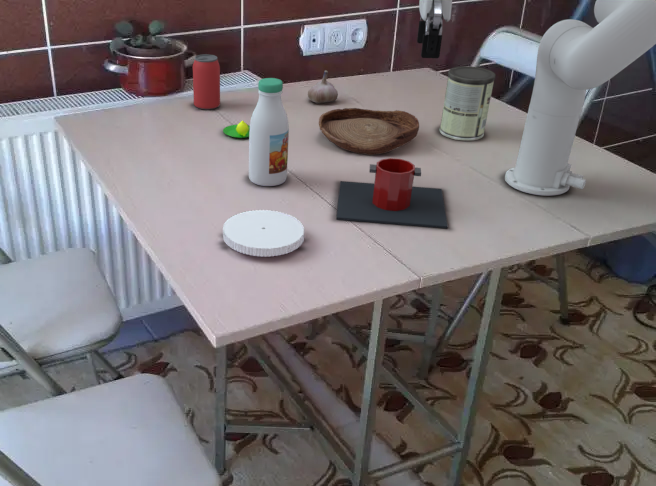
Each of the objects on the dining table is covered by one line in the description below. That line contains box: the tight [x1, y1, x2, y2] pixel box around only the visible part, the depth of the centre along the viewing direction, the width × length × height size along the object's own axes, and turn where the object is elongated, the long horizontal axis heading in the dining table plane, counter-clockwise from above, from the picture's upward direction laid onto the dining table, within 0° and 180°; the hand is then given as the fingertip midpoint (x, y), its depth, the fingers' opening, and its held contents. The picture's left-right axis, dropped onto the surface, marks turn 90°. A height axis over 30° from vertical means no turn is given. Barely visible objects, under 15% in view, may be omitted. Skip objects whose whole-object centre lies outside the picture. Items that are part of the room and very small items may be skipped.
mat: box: [336, 180, 448, 229], centre depth 142 cm, size 20×16×1 cm
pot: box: [368, 157, 422, 211], centre depth 140 cm, size 9×7×8 cm
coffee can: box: [438, 65, 497, 142], centre depth 171 cm, size 10×10×14 cm
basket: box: [318, 107, 420, 156], centre depth 169 cm, size 22×20×5 cm
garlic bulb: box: [307, 69, 339, 104], centre depth 189 cm, size 8×7×8 cm
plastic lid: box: [222, 209, 305, 258], centre depth 129 cm, size 14×14×2 cm
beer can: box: [192, 53, 221, 111], centre depth 183 cm, size 7×7×12 cm
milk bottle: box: [248, 77, 290, 187], centre depth 145 cm, size 8×8×20 cm
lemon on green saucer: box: [222, 120, 250, 139], centre depth 171 cm, size 8×8×3 cm
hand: (427, 50), depth 137 cm, fingers open, 9 cm apart
